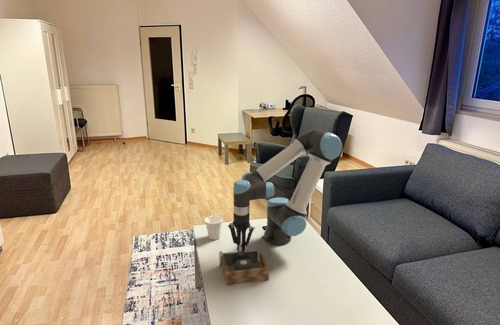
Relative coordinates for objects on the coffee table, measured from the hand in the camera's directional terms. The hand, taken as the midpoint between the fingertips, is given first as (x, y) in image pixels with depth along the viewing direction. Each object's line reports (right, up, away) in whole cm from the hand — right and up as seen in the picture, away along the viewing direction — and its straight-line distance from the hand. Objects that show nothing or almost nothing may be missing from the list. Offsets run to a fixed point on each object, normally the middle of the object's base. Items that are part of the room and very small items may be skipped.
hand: (241, 256), depth 169 cm
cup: (-15, +4, +23) cm, 28 cm away
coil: (+1, -4, -6) cm, 8 cm away
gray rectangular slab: (-1, -3, -2) cm, 3 cm away
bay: (+2, -5, -9) cm, 11 cm away
